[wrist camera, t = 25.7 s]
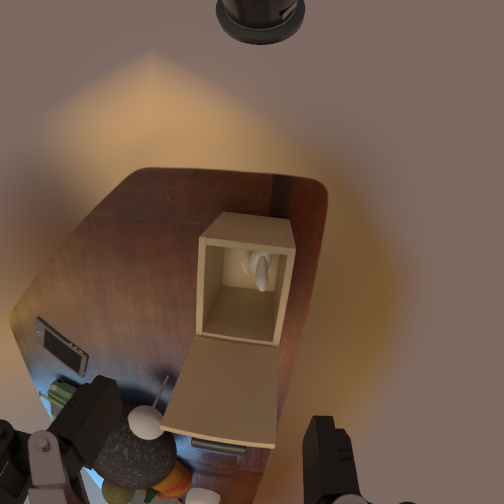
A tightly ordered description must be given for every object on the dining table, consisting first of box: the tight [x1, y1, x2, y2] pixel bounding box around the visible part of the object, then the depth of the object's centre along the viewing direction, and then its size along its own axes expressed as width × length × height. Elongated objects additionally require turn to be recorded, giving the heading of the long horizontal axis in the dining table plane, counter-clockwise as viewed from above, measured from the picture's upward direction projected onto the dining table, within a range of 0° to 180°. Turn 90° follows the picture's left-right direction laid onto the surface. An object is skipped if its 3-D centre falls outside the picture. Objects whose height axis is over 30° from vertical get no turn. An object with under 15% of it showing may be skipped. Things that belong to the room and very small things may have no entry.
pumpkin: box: [139, 460, 192, 504], centre depth 54 cm, size 19×19×15 cm
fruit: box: [102, 479, 135, 504], centre depth 62 cm, size 11×11×15 cm
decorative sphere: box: [93, 402, 177, 490], centre depth 44 cm, size 20×20×20 cm
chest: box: [196, 212, 296, 348], centre depth 34 cm, size 11×9×13 cm
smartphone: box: [35, 317, 88, 377], centre depth 49 cm, size 15×8×1 cm, turn 60°
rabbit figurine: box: [241, 251, 275, 292], centre depth 35 cm, size 6×4×8 cm, turn 166°
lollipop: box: [128, 375, 169, 440], centre depth 41 cm, size 6×6×15 cm
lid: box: [160, 336, 279, 455], centre depth 24 cm, size 12×9×5 cm
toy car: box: [39, 379, 77, 421], centre depth 53 cm, size 12×30×10 cm, turn 167°
